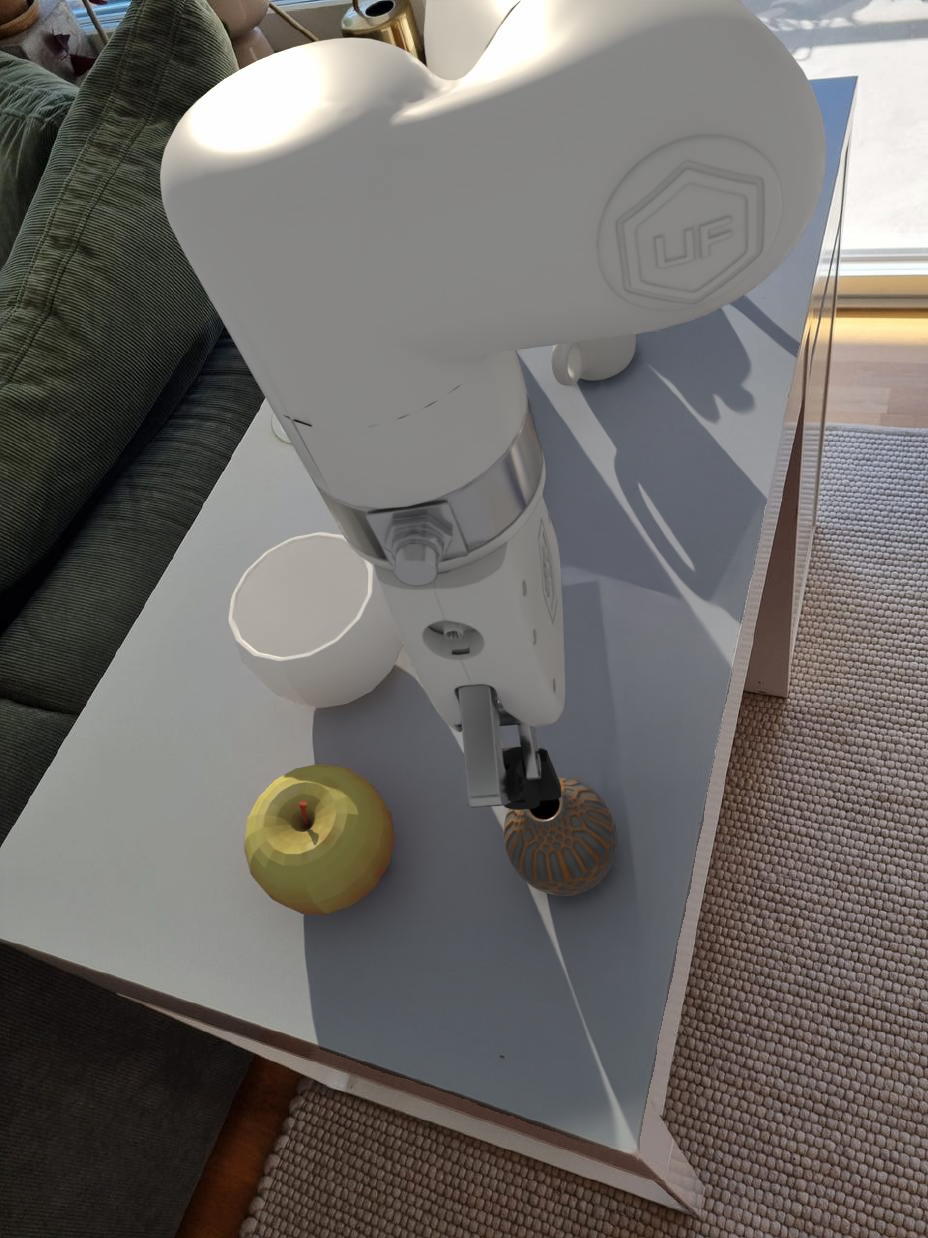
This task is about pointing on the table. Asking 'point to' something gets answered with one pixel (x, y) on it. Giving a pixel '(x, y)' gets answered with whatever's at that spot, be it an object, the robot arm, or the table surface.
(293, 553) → the cup
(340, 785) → the apple
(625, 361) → the cup
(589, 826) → the vase
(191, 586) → the table surface
